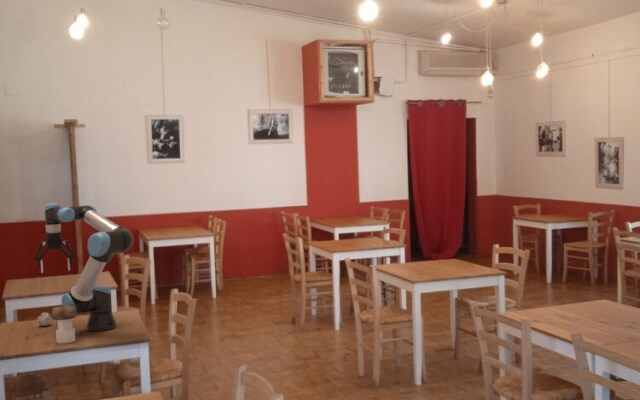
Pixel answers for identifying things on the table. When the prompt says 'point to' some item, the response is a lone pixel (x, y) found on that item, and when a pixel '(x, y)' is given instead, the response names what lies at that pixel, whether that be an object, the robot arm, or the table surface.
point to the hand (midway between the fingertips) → (55, 271)
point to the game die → (44, 319)
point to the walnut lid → (64, 312)
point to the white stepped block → (65, 331)
